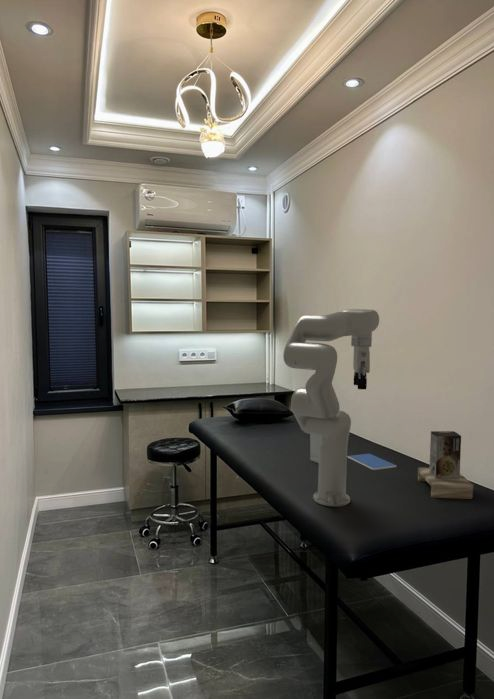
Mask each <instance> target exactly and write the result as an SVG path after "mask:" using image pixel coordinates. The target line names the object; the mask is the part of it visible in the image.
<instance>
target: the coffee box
mask: <svg viewBox="0 0 494 699" xmlns="http://www.w3.org/2000/svg"><path fill="white" fill-rule="evenodd" d="M461 444H462V435H460V434H459V433H457V432H456V431H453V430H451V431H450V430H449V431H446V430H445V431H444V430H443V431H442V430H441V431H439V430H438V431H435V430H434V431H430V444H429V446H430V447H429V448H430V449H429V467H428V468H429V473H430V474H431V475H432V476H433V477H434V478H460V474H461V452H462V451H461V449H462V445H461Z"/></svg>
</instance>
